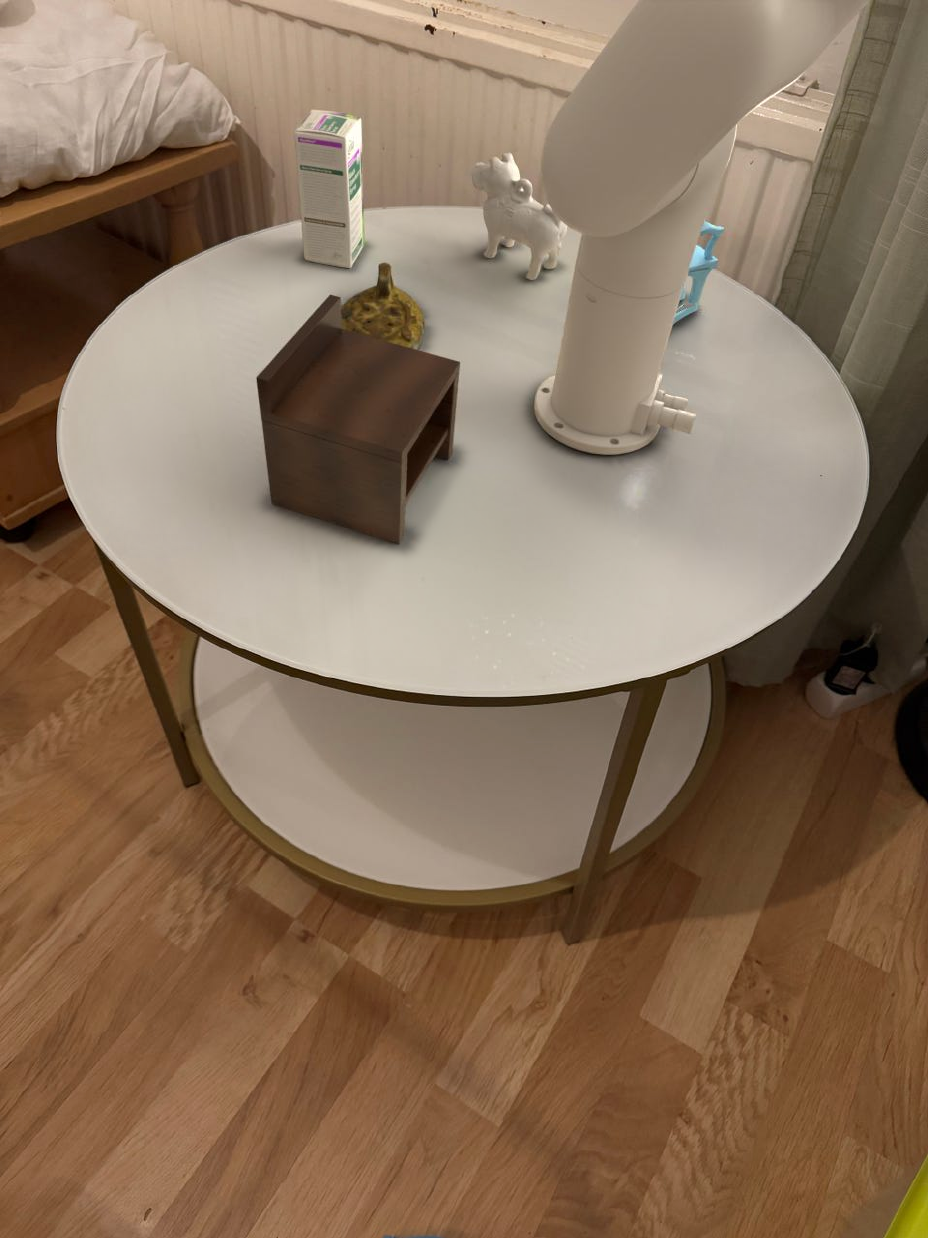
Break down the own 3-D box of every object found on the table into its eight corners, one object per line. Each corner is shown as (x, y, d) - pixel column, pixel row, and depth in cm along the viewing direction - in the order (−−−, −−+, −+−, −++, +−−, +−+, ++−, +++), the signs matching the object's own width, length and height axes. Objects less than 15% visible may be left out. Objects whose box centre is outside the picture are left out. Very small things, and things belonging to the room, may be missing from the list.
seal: (421, 382, 93) (422, 300, 102) (428, 343, 89) (429, 262, 98) (330, 368, 91) (339, 287, 100) (333, 328, 87) (343, 247, 97)
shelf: (452, 453, 84) (463, 330, 74) (399, 544, 76) (403, 420, 66) (335, 418, 86) (330, 293, 76) (270, 503, 78) (255, 377, 68)
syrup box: (351, 269, 103) (348, 137, 92) (301, 260, 104) (293, 127, 93) (365, 245, 107) (364, 115, 96) (317, 237, 107) (310, 106, 96)
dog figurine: (483, 229, 112) (492, 139, 104) (566, 269, 107) (582, 177, 99) (455, 243, 109) (462, 152, 101) (540, 285, 104) (554, 192, 96)
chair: (710, 320, 102) (743, 216, 93) (651, 335, 99) (680, 230, 90) (670, 286, 107) (698, 183, 97) (612, 299, 104) (635, 195, 94)
